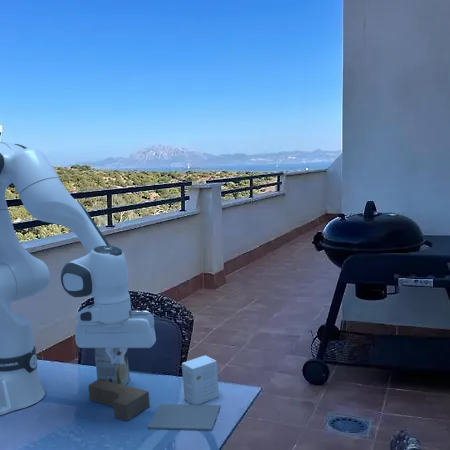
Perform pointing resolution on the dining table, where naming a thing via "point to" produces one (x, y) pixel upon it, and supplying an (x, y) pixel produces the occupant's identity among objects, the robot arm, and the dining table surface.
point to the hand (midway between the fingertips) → (117, 363)
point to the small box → (200, 380)
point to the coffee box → (111, 367)
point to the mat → (184, 417)
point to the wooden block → (119, 398)
